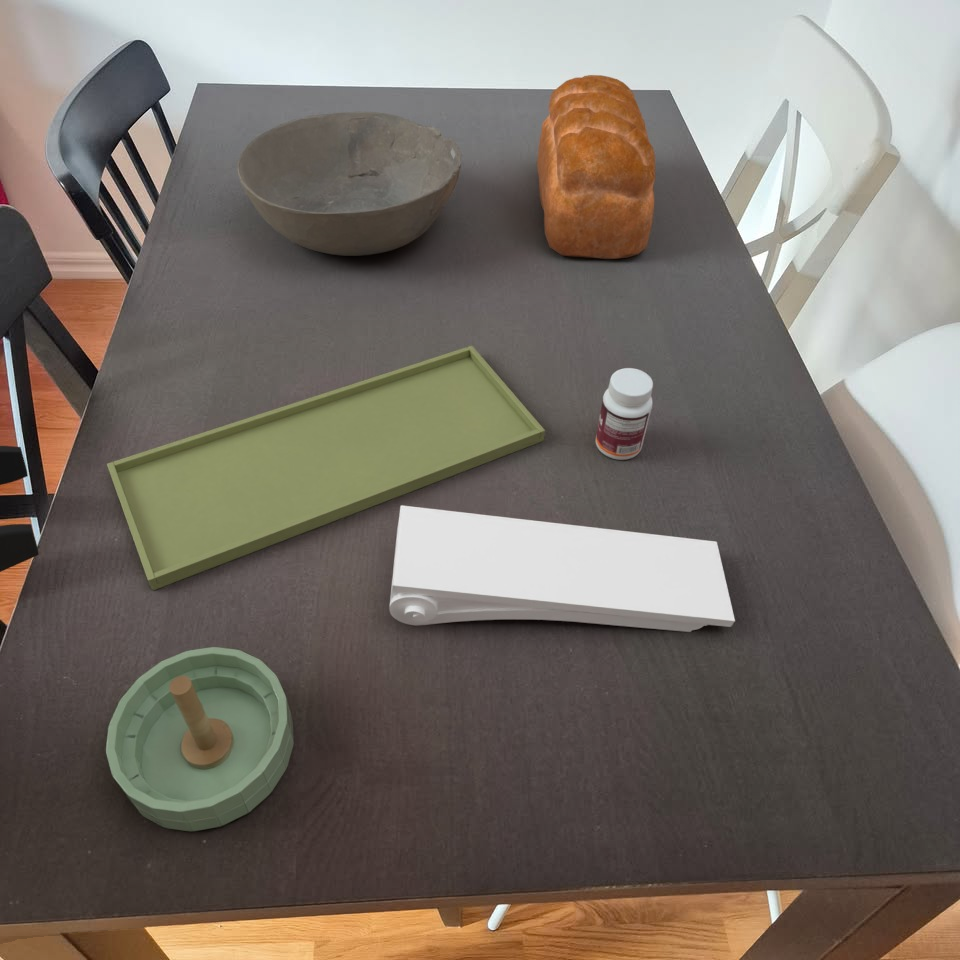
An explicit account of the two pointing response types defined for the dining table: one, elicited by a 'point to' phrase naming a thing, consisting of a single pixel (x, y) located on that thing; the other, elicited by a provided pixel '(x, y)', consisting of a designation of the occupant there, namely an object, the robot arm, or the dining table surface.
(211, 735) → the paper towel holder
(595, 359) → the dining table surface
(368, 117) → the bowl
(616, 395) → the pill bottle
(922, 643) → the dining table surface
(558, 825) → the dining table surface
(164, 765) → the shallow round dish
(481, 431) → the serving tray
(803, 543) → the dining table surface
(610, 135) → the bread
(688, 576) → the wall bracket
